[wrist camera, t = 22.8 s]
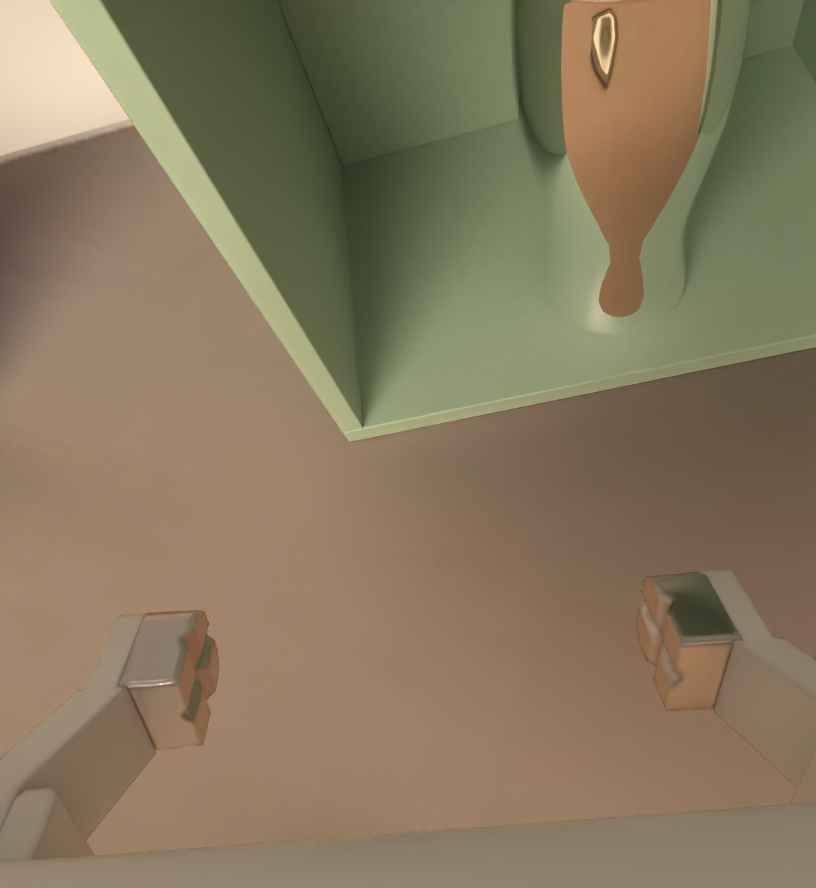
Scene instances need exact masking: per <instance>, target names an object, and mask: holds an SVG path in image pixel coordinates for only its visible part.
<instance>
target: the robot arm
mask: <svg viewBox="0 0 816 888" xmlns="http://www.w3.org/2000/svg"><path fill="white" fill-rule="evenodd" d="M641 592H642V594H643V596H644V599H645V601H646V602H645V603H644V604H642V605H641V606H640V607H639V608H638V615H637V632H638V639H639V643H640V647H641V649H642V652H643V655H644V657H645V659H646V660H647V661H648V662H650V663H651V664H652V665H654V666H655V667H656V668H655V673H654V679H653V680H654V683H655V685H656V688H657V690H658V692H659V695H660V697H661V700H662V702H663V705H664V707H665V710H666V711H679V710H700V709H714V712H715V713H716V714H717V715H718V716H719V717H720V718H722V719H723V720H724V721H725V722H726V723H727V724H728V725H729V726H730V727H731V728H732V729H734V730H735V731H736V732H737V733H738V734H739V735H740V736H741V737H742V738H743V739H744V740H746V741H747V742H748V743H749V744H750V745H751V746H752V747H753V748H754V749H755V750H756V751H758V752H759V753H760V754H761V755H762V756H763V757H764V758H765V759H766V760H767V761H768V762H770V763H771V764H772V765H773V766H774V767H775V768H776V769H777V770H778V771H779V772H780V773H782V774H783V775H784V776H785V777H786V778H787V779H788V780H789V781H790V782H791V783H792V784H794V785H795V786H796V787H797V790H796V793H795V795H794V797H793V799H792V801H791V803H790V804H785V805H771V806H757V807H744V808H730V809H717V810H703V811H690V812H676V813H663V814H649V815H636V816H622V817H609V818H595V819H582V820H569V821H555V822H542V823H529V824H515V825H502V826H488V827H475V828H461V829H448V830H434V831H421V832H407V833H393V834H380V835H366V836H353V837H339V838H325V839H312V840H298V841H285V842H271V843H257V844H244V845H230V846H217V847H203V848H190V849H176V850H162V851H149V852H135V853H122V854H108V855H95V854H94V852H93V851H92V849H91V848H90V846H89V844H88V843H87V841H86V840H87V839H88V837H89V836H90V835H91V834H92V832H93V831H94V830H95V829H96V827H97V826H98V825H99V824H100V822H101V821H102V820H103V819H104V817H105V816H106V815H107V814H108V812H109V811H110V810H111V809H112V807H113V806H114V805H115V804H116V802H117V801H118V800H119V799H120V798H121V796H122V795H123V794H124V793H125V791H126V790H127V789H128V788H129V786H130V785H131V784H132V783H133V781H134V780H135V779H136V778H137V776H138V775H139V774H140V773H141V771H142V770H143V769H144V768H145V766H146V765H147V764H148V763H149V761H150V760H151V759H152V758H153V756H154V755H155V754H156V751H155V750H163V749H173V748H183V747H193V746H202V745H203V743H204V739H205V735H206V730H207V726H208V722H209V717H210V713H211V712H210V709H209V706H208V704H207V701H206V700H207V699H208V698H209V697H210V696H211V695H212V694H213V693H214V692H215V691H216V686H217V681H218V672H219V658H218V651H217V647H216V643H215V640H214V639H212V638H211V637H209V636H208V635H207V630H208V626H209V622H208V619H207V617H206V614H205V612H204V611H201V610H194V611H174V612H154V613H143V614H124V615H120V616H119V617H118V618H117V619H116V620H115V622H114V623H113V626H112V628H111V631H110V633H109V636H108V638H107V640H106V643H105V645H104V648H103V650H102V653H101V655H100V658H99V660H98V662H97V665H96V667H95V670H94V672H93V675H92V677H91V680H90V682H89V684H88V687H87V689H82V690H78V691H77V692H75V693H74V694H73V695H72V696H71V697H70V698H69V699H67V700H66V701H65V702H64V703H63V704H62V705H61V706H59V707H58V708H57V709H56V710H55V711H54V712H53V713H51V714H50V715H49V716H48V717H47V718H46V719H45V720H43V721H42V722H41V723H40V724H39V725H38V726H37V727H35V728H34V729H33V730H32V731H31V732H30V733H29V734H27V735H26V736H25V737H24V738H23V739H22V740H21V741H19V742H18V743H17V744H16V745H15V746H14V747H13V748H11V749H10V750H9V751H8V752H7V753H6V754H4V755H3V756H2V757H1V758H0V888H816V659H815V658H814V657H812V656H810V655H809V654H807V653H806V652H804V651H803V650H801V649H799V648H798V647H796V646H795V645H793V644H791V643H790V642H788V641H787V640H785V639H784V638H774V637H773V636H772V634H771V633H770V631H769V629H768V628H767V626H766V625H765V623H764V621H763V620H762V618H761V616H760V615H759V613H758V612H757V610H756V608H755V607H754V605H753V603H752V602H751V600H750V599H749V597H748V595H747V594H746V592H745V590H744V589H743V587H742V586H741V584H740V582H739V581H738V579H737V577H736V576H735V574H734V573H733V572H731V571H730V570H729V569H728V570H716V571H704V572H690V573H679V574H667V575H655V576H646V578H645V579H644V581H643V585H642V590H641Z"/></svg>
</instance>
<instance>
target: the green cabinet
mask: <svg viewBox="0 0 816 888" xmlns="http://www.w3.org/2000/svg"><path fill="white" fill-rule="evenodd" d="M50 2H51V3H52V5H53V6H54V8H55V9H56V11H57V12H58V14H59V15H60V17H61V18H62V20H63V21H64V23H65V24H66V25H67V27H68V28H69V30H70V31H71V33H72V34H73V36H74V37H75V39H76V40H77V41H78V43H79V45H80V46H81V48H82V49H83V51H84V52H85V53H86V55H87V56H88V58H89V59H90V61H91V62H92V64H93V65H94V67H95V68H96V70H97V71H98V73H99V74H100V76H101V77H102V79H103V80H104V82H105V83H106V84H107V86H108V87H109V89H110V90H111V92H112V93H113V95H114V96H115V98H116V99H117V101H118V102H119V103H120V105H121V107H122V108H123V110H124V111H125V113H126V114H127V115H128V117H129V118H130V120H131V121H132V123H133V124H134V126H135V127H136V129H137V130H138V132H139V133H140V135H141V136H142V138H143V139H144V141H145V142H146V143H147V145H148V146H149V148H150V149H151V151H152V152H153V154H154V155H155V157H156V158H157V160H158V161H159V163H160V164H161V166H162V167H163V169H164V170H165V171H166V173H167V174H168V176H169V177H170V179H171V180H172V182H173V183H174V185H175V186H176V188H177V189H178V191H179V192H180V194H181V195H182V197H183V198H184V199H185V201H186V202H187V204H188V205H189V207H190V208H191V210H192V211H193V213H194V214H195V216H196V217H197V219H198V220H199V222H200V223H201V225H202V226H203V227H204V229H205V230H206V232H207V233H208V235H209V236H210V238H211V239H212V241H213V242H214V244H215V245H216V247H217V248H218V250H219V251H220V253H221V254H222V255H223V257H224V258H225V260H226V261H227V263H228V264H229V266H230V267H231V269H232V270H233V272H234V273H235V275H236V276H237V278H238V279H239V281H240V282H241V283H242V285H243V286H244V288H245V289H246V291H247V292H248V294H249V295H250V297H251V298H252V300H253V301H254V303H255V304H256V306H257V307H258V309H259V310H260V312H261V313H262V314H263V316H264V317H265V319H266V320H267V322H268V323H269V325H270V326H271V328H272V329H273V331H274V332H275V334H276V335H277V337H278V338H279V340H280V341H281V342H282V344H283V345H284V347H285V348H286V350H287V351H288V353H289V354H290V356H291V357H292V359H293V360H294V362H295V363H296V365H297V366H298V368H299V369H300V370H301V372H302V373H303V375H304V376H305V378H306V379H307V381H308V382H309V384H310V385H311V387H312V388H313V390H314V391H315V393H316V394H317V396H318V397H319V398H320V400H321V401H322V403H323V404H324V406H325V407H326V409H327V410H328V412H329V413H330V415H331V416H332V418H333V419H334V421H335V422H336V424H337V425H338V426H339V428H340V429H341V431H342V432H343V433H344V435H345V436H346V438H347V439H348V441H349V442H352V441H357V440H362V439H367V438H372V437H377V436H382V435H387V434H391V433H396V432H401V431H406V430H411V429H416V428H421V427H426V426H431V425H436V424H441V423H446V422H450V421H455V420H460V419H465V418H470V417H475V416H480V415H485V414H490V413H495V412H500V411H505V410H509V409H514V408H519V407H524V406H529V405H534V404H539V403H544V402H549V401H554V400H559V399H563V398H568V397H573V396H578V395H583V394H588V393H593V392H598V391H603V390H608V389H613V388H618V387H622V386H627V385H632V384H637V383H642V382H647V381H652V380H657V379H662V378H667V377H672V376H677V375H681V374H686V373H691V372H696V371H701V370H706V369H711V368H716V367H721V366H726V365H731V364H735V363H740V362H745V361H750V360H755V359H760V358H765V357H770V356H775V355H780V354H785V353H790V352H794V351H799V350H804V349H809V348H814V347H816V0H752V8H751V15H750V22H749V28H748V34H747V40H746V45H745V51H744V57H743V62H742V67H741V71H740V75H739V79H738V83H737V87H736V91H735V95H734V99H733V103H732V106H731V109H730V112H729V115H728V118H727V121H726V124H725V126H724V129H723V132H722V135H721V138H720V140H719V143H718V146H717V148H716V150H715V153H714V155H713V158H712V160H711V162H710V165H709V167H708V170H707V172H706V174H705V177H704V179H703V181H702V184H701V186H700V188H699V190H698V193H697V195H696V197H695V200H694V202H693V205H692V207H691V210H690V212H689V215H688V217H687V221H686V225H685V229H684V237H683V246H684V255H685V264H686V282H685V288H684V291H683V294H682V296H681V298H680V300H679V302H678V304H677V305H676V307H675V308H674V309H673V310H672V312H671V313H670V314H669V315H668V316H667V317H665V318H664V319H663V320H662V321H660V322H659V323H657V324H655V325H654V326H652V327H650V328H648V329H646V330H643V331H640V332H637V333H634V334H630V335H624V336H598V335H592V334H588V333H585V332H582V331H579V330H577V329H575V328H573V327H571V326H570V325H568V324H567V323H565V322H564V321H563V320H561V319H560V318H559V317H558V316H557V315H556V313H555V312H554V311H553V309H552V308H551V306H550V304H549V302H548V299H547V297H546V293H545V276H546V271H547V266H548V262H549V257H550V249H551V236H550V230H549V224H548V221H547V217H546V214H545V210H544V207H543V204H542V201H541V198H540V195H539V192H538V189H537V186H536V183H535V180H534V177H533V174H532V171H531V167H530V164H529V161H528V158H527V155H526V151H525V147H524V143H523V139H522V135H521V131H520V127H519V123H518V116H517V110H516V103H515V96H514V89H513V80H512V66H511V53H510V28H509V0H50Z"/></svg>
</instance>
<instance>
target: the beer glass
mask: <svg viewBox="0 0 816 888" xmlns="http://www.w3.org/2000/svg"><path fill="white" fill-rule="evenodd" d="M751 8H752V0H509V28H510V53H511V66H512V80H513V89H514V96H515V103H516V110H517V116H518V123H519V127H520V131H521V135H522V139H523V143H524V147H525V151H526V155H527V158H528V161H529V164H530V167H531V171H532V174H533V177H534V180H535V183H536V186H537V189H538V192H539V195H540V198H541V201H542V204H543V207H544V210H545V214H546V217H547V221H548V224H549V230H550V236H551V249H550V257H549V262H548V266H547V271H546V276H545V293H546V297H547V299H548V302H549V304H550V306H551V308H552V309H553V311H554V312H555V313H556V315H557V316H558V317H559V318H560V319H561V320H563V321H564V322H565V323H567V324H568V325H570V326H571V327H573V328H575V329H577V330H579V331H582V332H585V333H588V334H592V335H598V336H624V335H630V334H634V333H637V332H640V331H643V330H646V329H648V328H650V327H652V326H654V325H655V324H657V323H659V322H660V321H662V320H663V319H664V318H665V317H667V316H668V315H669V314H670V313H671V312H672V310H673V309H674V308H675V307H676V305H677V304H678V302H679V300H680V298H681V296H682V294H683V291H684V288H685V282H686V264H685V255H684V246H683V237H684V229H685V225H686V221H687V217H688V215H689V212H690V210H691V207H692V205H693V202H694V200H695V197H696V195H697V193H698V190H699V188H700V186H701V184H702V181H703V179H704V177H705V174H706V172H707V170H708V167H709V165H710V162H711V160H712V158H713V155H714V153H715V150H716V148H717V146H718V143H719V140H720V138H721V135H722V132H723V129H724V126H725V124H726V121H727V118H728V115H729V112H730V109H731V106H732V103H733V99H734V95H735V91H736V87H737V83H738V79H739V75H740V71H741V67H742V62H743V57H744V51H745V45H746V40H747V34H748V28H749V22H750V15H751Z"/></svg>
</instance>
